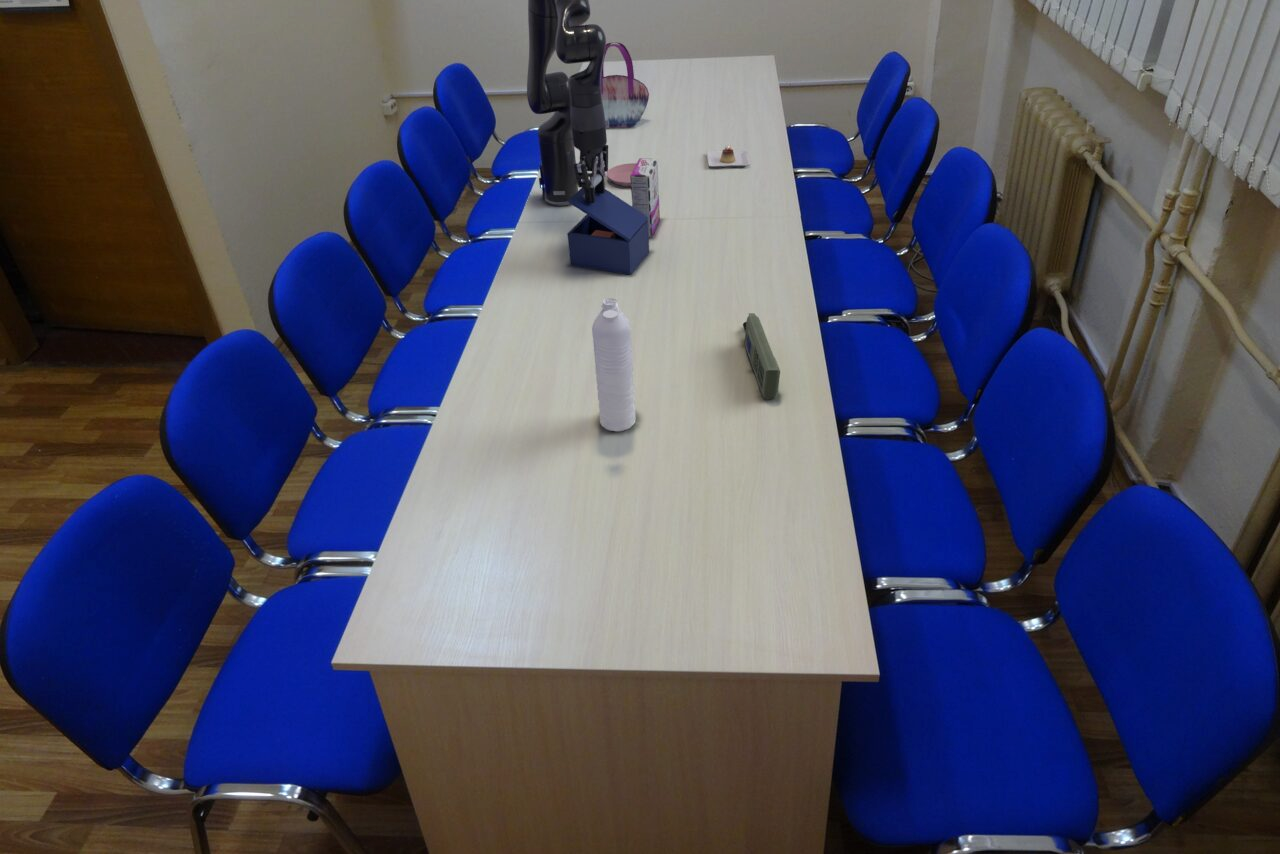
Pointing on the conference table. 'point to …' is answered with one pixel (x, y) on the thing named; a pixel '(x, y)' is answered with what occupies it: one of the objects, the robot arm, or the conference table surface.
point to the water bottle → (614, 367)
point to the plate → (621, 174)
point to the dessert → (728, 158)
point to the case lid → (610, 211)
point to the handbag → (623, 95)
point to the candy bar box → (646, 191)
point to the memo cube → (603, 234)
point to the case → (606, 248)
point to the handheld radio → (761, 357)
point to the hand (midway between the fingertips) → (595, 197)
